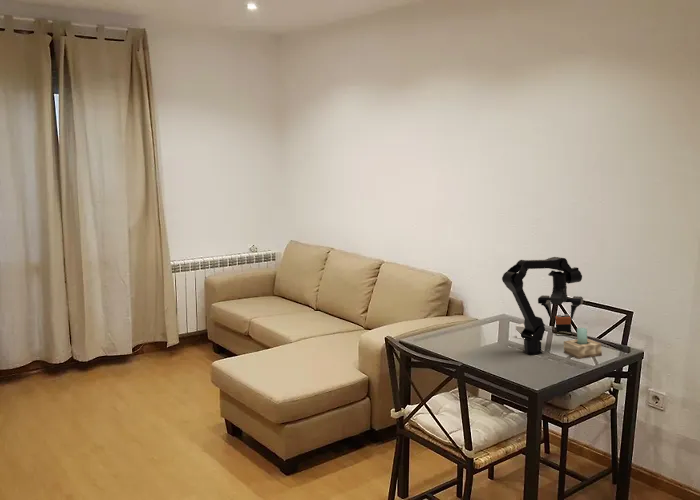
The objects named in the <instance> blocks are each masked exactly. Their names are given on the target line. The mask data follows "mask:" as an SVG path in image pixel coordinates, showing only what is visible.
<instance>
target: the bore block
mask: <svg viewBox="0 0 700 500" xmlns="http://www.w3.org/2000/svg"><path fill="white" fill-rule="evenodd" d="M602 350H603V349H602V343H600V342H597V341H595V340H592V339H589V338H587V344H582V345H580V344H577V339H571V340H564V341H563V352H564V354H567V355H568V356H571V357H574V358H576V359H578V360H580V359H588V358H593V357H600V356H602V355H603V354H602V353H603V352H602Z"/></svg>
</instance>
